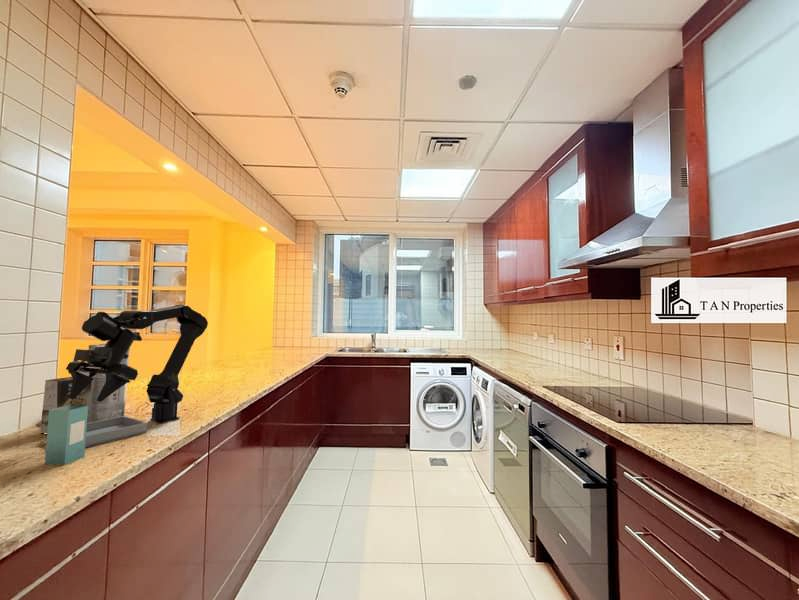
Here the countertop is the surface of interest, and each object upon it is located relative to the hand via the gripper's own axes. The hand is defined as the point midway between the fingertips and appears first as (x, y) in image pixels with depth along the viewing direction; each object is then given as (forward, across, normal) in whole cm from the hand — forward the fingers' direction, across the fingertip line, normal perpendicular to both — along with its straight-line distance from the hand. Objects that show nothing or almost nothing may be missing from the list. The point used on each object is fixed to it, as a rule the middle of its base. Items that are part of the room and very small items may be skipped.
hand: (84, 400), depth 94 cm
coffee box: (+7, -19, +15) cm, 25 cm away
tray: (+7, -4, +13) cm, 16 cm away
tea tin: (+15, +5, 0) cm, 16 cm away
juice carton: (+1, -19, +25) cm, 31 cm away
